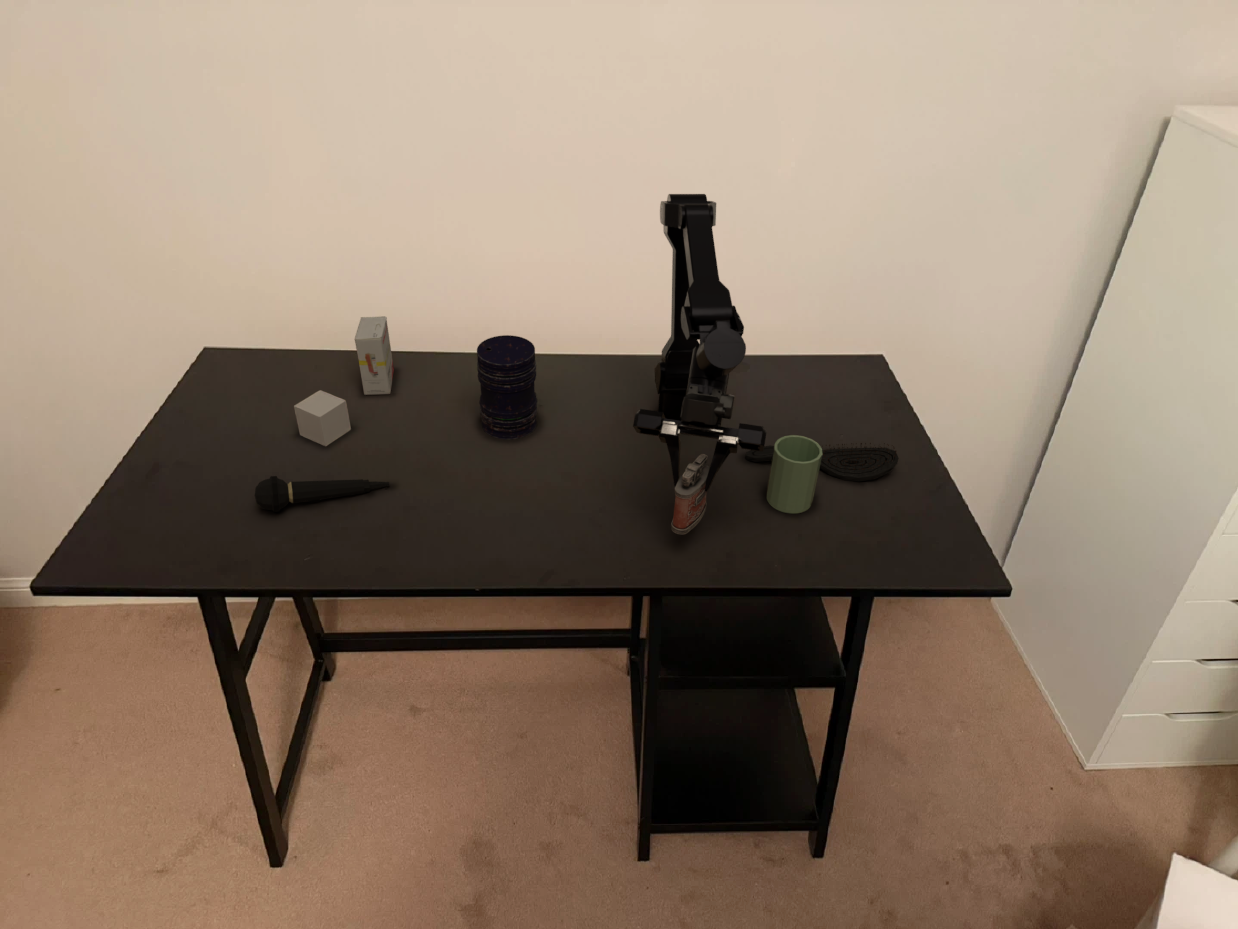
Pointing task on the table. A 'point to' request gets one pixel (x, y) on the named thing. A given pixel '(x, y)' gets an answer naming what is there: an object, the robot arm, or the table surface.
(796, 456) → the pen cup
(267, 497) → the microphone
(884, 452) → the hairbrush
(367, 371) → the ink box
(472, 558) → the table surface
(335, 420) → the light grey cube
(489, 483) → the table surface
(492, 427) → the storage jar
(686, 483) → the lighter
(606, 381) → the table surface
